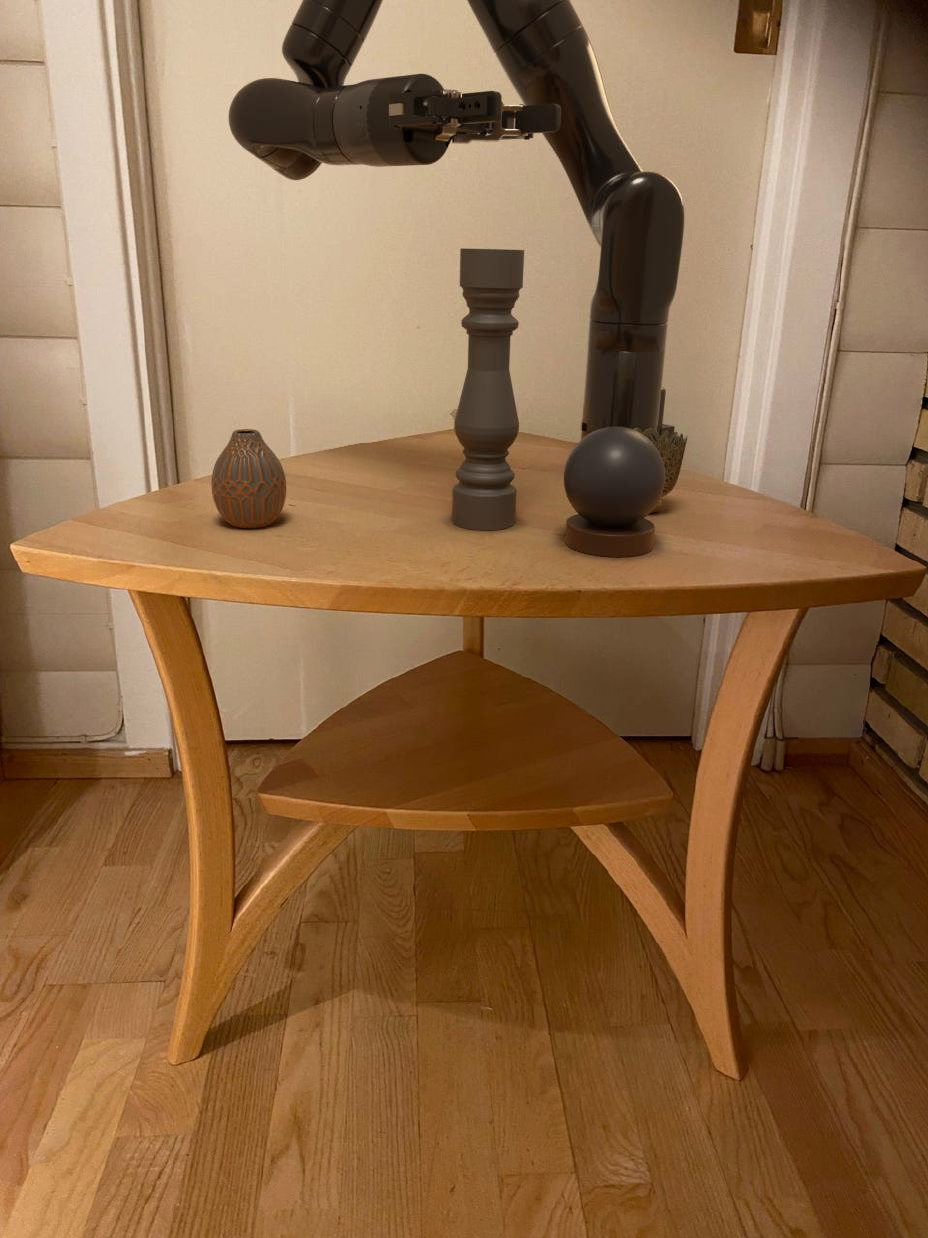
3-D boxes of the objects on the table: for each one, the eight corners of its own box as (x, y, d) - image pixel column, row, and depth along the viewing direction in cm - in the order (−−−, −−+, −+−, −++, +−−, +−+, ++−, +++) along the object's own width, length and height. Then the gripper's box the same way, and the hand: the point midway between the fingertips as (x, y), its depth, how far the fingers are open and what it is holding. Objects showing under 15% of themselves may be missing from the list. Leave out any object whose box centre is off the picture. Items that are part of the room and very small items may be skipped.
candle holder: (515, 531, 91) (527, 250, 82) (450, 529, 91) (455, 248, 82) (514, 514, 97) (526, 249, 88) (453, 512, 97) (459, 247, 88)
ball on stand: (605, 525, 94) (613, 415, 90) (678, 547, 88) (691, 430, 84) (539, 540, 89) (545, 424, 85) (612, 565, 82) (623, 440, 78)
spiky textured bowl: (635, 523, 95) (642, 442, 92) (592, 505, 101) (598, 429, 98) (694, 515, 98) (703, 437, 95) (649, 499, 104) (656, 425, 101)
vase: (300, 518, 94) (297, 428, 91) (264, 536, 88) (259, 440, 85) (239, 510, 96) (233, 422, 93) (199, 527, 90) (192, 434, 87)
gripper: (336, 66, 85) (478, 47, 75) (442, 87, 95) (579, 73, 85) (338, 160, 87) (476, 153, 78) (440, 171, 98) (573, 166, 88)
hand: (529, 111), depth 82 cm, fingers open, 8 cm apart
